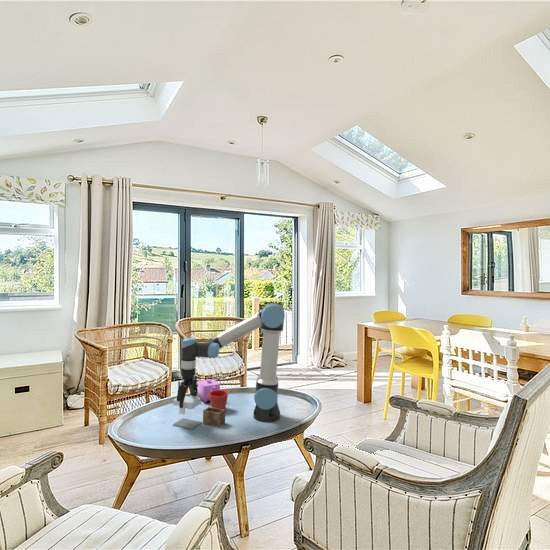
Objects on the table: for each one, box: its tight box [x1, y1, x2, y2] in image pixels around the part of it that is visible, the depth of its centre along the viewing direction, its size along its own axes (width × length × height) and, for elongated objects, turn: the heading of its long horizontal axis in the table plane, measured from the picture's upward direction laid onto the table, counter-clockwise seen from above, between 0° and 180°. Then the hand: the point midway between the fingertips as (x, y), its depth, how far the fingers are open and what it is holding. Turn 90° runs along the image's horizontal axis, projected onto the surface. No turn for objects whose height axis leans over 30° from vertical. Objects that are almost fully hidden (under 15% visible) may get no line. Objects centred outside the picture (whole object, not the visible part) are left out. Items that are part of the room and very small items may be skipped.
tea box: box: [202, 406, 226, 428], centre depth 197 cm, size 10×6×7 cm, turn 68°
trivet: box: [172, 418, 203, 430], centre depth 195 cm, size 12×9×1 cm
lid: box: [172, 395, 202, 410], centre depth 195 cm, size 12×8×4 cm, turn 68°
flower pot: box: [209, 390, 229, 411], centre depth 217 cm, size 11×11×10 cm
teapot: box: [197, 378, 221, 404], centre depth 232 cm, size 20×10×12 cm, turn 28°
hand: (187, 410), depth 195 cm, fingers closed on lid, 8 cm apart
